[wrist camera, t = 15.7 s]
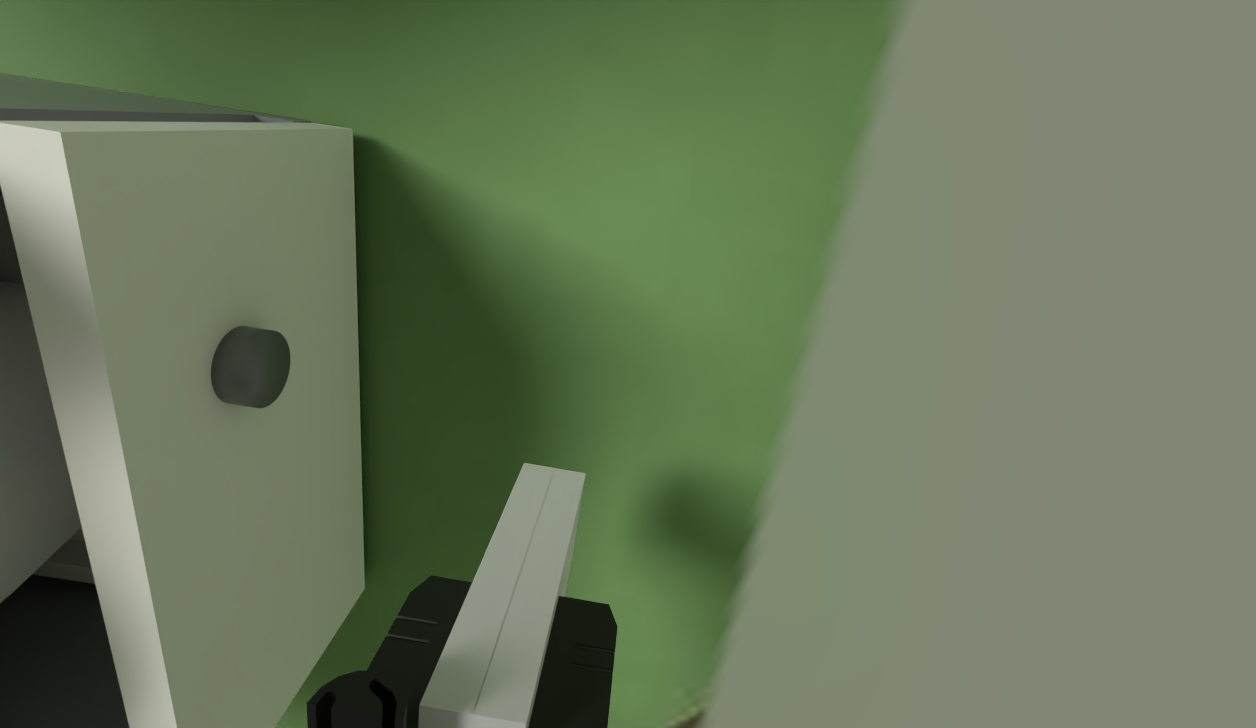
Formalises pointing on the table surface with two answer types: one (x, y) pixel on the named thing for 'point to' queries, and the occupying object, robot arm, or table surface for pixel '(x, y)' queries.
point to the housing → (52, 607)
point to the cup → (28, 452)
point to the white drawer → (199, 394)
